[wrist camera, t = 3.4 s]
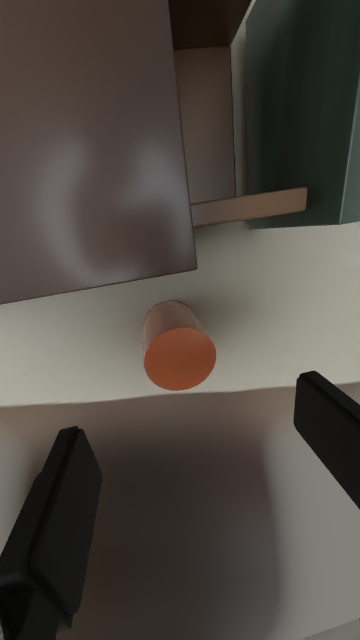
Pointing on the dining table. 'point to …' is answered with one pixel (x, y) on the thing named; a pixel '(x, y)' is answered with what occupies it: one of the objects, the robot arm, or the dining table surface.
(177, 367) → the tumbler
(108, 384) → the dining table surface
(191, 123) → the drawer
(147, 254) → the cabinet
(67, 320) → the dining table surface
